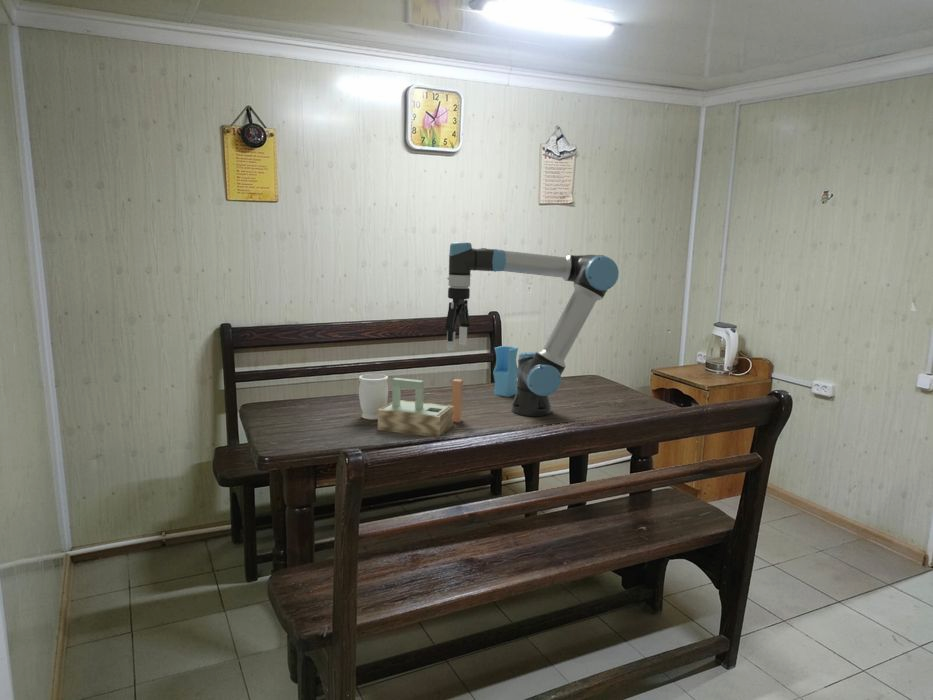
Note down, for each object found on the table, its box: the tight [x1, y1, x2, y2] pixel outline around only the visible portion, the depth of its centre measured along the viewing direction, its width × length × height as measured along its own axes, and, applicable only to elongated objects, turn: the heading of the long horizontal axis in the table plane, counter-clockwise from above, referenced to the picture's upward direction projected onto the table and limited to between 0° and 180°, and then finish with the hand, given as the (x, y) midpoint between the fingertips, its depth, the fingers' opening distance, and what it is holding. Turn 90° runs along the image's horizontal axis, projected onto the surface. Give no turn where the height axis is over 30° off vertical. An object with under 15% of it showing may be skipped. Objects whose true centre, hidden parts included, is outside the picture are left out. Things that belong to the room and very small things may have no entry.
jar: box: [358, 373, 389, 421], centre depth 228 cm, size 11×10×15 cm
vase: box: [492, 345, 519, 398], centre depth 268 cm, size 8×8×20 cm
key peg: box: [451, 378, 464, 423], centre depth 226 cm, size 3×3×15 cm
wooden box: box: [377, 399, 454, 438], centre depth 217 cm, size 22×15×7 cm
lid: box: [383, 377, 450, 416], centre depth 216 cm, size 19×12×10 cm, turn 73°
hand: (456, 347), depth 222 cm, fingers open, 13 cm apart
